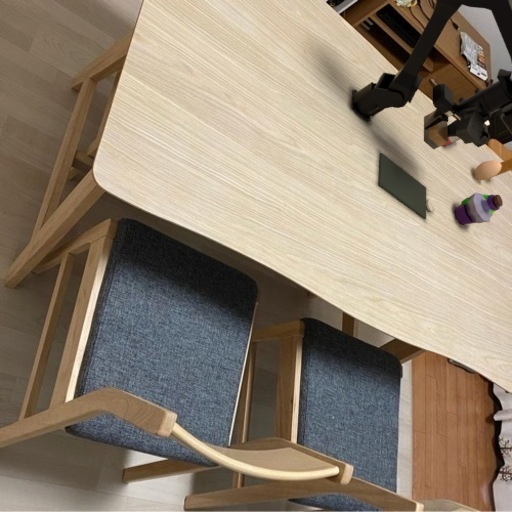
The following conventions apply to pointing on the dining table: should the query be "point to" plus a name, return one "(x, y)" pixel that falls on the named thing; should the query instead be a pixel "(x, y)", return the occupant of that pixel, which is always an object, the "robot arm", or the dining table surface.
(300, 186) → the dining table surface
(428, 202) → the beige disc
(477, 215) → the potion bottle
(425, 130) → the brown rectangular block
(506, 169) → the supplement box
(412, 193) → the chalkboard
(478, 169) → the egg
